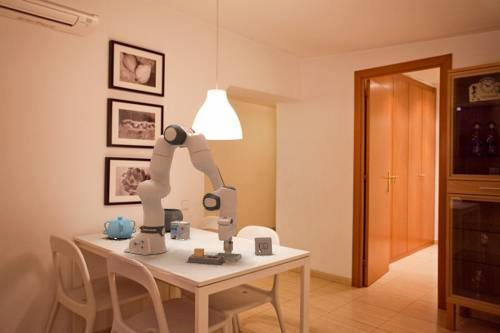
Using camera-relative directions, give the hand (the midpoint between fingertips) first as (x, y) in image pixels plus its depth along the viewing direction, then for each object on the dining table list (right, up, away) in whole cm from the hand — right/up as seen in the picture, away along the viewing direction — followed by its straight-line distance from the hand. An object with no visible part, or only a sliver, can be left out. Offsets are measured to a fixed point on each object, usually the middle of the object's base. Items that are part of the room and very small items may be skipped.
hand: (228, 246), depth 185 cm
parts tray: (0, -7, 0) cm, 7 cm away
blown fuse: (0, -4, 0) cm, 4 cm away
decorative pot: (-72, -6, +52) cm, 89 cm away
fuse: (-14, -6, -7) cm, 16 cm away
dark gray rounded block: (-48, -6, +81) cm, 94 cm away
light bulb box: (-34, -7, +53) cm, 63 cm away
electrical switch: (+18, -8, +15) cm, 24 cm away
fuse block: (-10, -7, -7) cm, 14 cm away
